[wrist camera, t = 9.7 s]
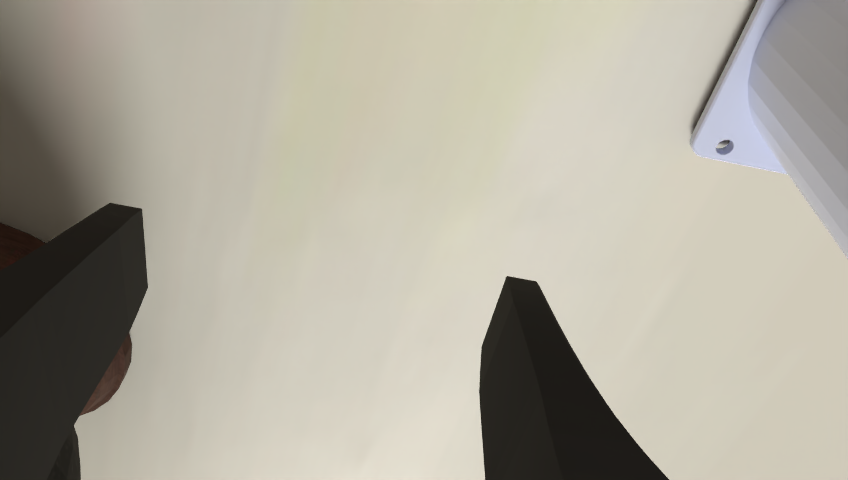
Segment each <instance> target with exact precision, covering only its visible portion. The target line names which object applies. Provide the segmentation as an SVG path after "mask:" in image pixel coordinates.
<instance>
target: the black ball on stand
mask: <svg viewBox="0 0 848 480" xmlns="http://www.w3.org/2000/svg"><path fill="white" fill-rule="evenodd" d="M44 244H46V243H44V242H42V241H41V240H39V239H37V238H35V237H33V236H31V235H29V234H27V233H24V232H22V231H19V230H17V229H14V228H12V227H9V226H7V225H4V224H2V223H0V270H2V269H4V268H6V267H7V266H9V265H11V264H13V263H15V262H16V261H18V260H20V259H21V258H23V257H25V256H26V255H28V254H30V253H31V252H33V251H34V250H36V249H38V248H39V247H41V246H43V245H44ZM131 351H132V343H131V339H130V335H129V333H128V335H127V337H126V338H125V340H124V342H123V343H122V345H121V347H120V349H119V350H118V352H117V354H116V355H115V357H114V359H113V360H112V362H111V364H110V366H109V367H108V369H107V371H106V372H105V374H104V376H103V377H102V379H101V381H100V382H99V384H98V386H97V387H96V389H95V391H94V392H93V394H92V396H91V397H90V399H89V401H88V402H87V404H86V406H85V407H84V409H83V411H82V412H81V414H80V415H83V414H86V413H89V412H91V411H94V410H96V409H97V408H99V407H100V406H102V405H103V404H105V403H106V402H108V401H109V400H110V398H111V397H112V396H113V395H114V394H115V392H116V391H117V390H118V389H119V387H120V385H121V383H122V381H123V379H124V377H125V375H126V373H127V370H128V368H129V365H130V363H131ZM47 480H81V474H80V458H79V447H78V437H77V434H76V431H75V428H74V426H73V427H72V429H71V431H70V433H69V435H68V437H67V439H66V440H65V442H64V444H63V446H62V448H61V450H60V452H59V454H58V457H57V459H56V461H55V463H54V465H53V467H52V470H51V472H50V474H49V476H48V478H47Z"/></svg>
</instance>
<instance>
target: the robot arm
mask: <svg viewBox="0 0 848 480" xmlns="http://www.w3.org/2000/svg"><path fill="white" fill-rule="evenodd" d="M723 140H730V141H729V143H728V145H727V146H725V147H723V148H716V146H717V145H718V144H719V142H721V141H723ZM690 145H691V147H692V149H693V151H694V152H695V153H696V155H698V156H700V157H704V158H709V159H714V160H719V161H724V162H729V163H733V164H738V165H743V166H748V167H753V168H758V169H763V170H768V171H773V172H778V173H783V174H788V175H789V177H790V178H791V179H792V181H793V182H794V184H795V185H796V187H797V188H798V189H799V191H800V192H801V194H802V195H803V196H804V198H805V199H806V201H807V202H808V204H809V205H810V206H811V208H812V209H813V211H814V212H815V213H816V215H817V216H818V218H819V219H820V220H821V222H822V223H823V225H824V226H825V228H826V229H827V230H828V232H829V233H830V235H831V236H832V237H833V239H834V240H835V242H836V243H837V245H838V246H839V247H840V249H841V250H842V252H843V253H844V254H845V256H846V257H847V259H848V0H758V1H757V3H756V5H755V7H754V9H753V11H752V13H751V15H750V17H749V20H748V22H747V24H746V26H745V28H744V30H743V32H742V34H741V36H740V38H739V40H738V42H737V44H736V46H735V48H734V50H733V52H732V54H731V56H730V58H729V60H728V62H727V64H726V66H725V68H724V70H723V72H722V74H721V76H720V78H719V80H718V82H717V84H716V86H715V88H714V91H713V93H712V95H711V97H710V99H709V101H708V103H707V105H706V107H705V109H704V111H703V113H702V115H701V117H700V119H699V121H698V123H697V125H696V127H695V129H694V131H693V133H692V135H691V138H690ZM147 288H148V283H147V269H146V256H145V243H144V229H143V216H142V209H140V208H135V207H129V206H124V205H118V204H113V203H109V204H107V205H106V206H104V207H102V208H101V209H99V210H98V211H96V212H94V213H93V214H91V215H90V216H88V217H87V218H85V219H83V220H82V221H80V222H79V223H77V224H76V225H74V226H73V227H71V228H69V229H68V230H66V231H65V232H63V233H62V234H60V235H59V236H57V237H55V238H54V239H52V240H51V241H49V242H47V243H46V244H44V245H43V246H41V247H39V248H38V249H36V250H34V251H33V252H31V253H30V254H28V255H26V256H25V257H23V258H21V259H20V260H18V261H16V262H15V263H13V264H11V265H9V266H7V267H6V268H4V269H2V270H0V480H47V478H48V476H49V474H50V472H51V470H52V467H53V465H54V463H55V461H56V459H57V457H58V454H59V452H60V450H61V448H62V446H63V444H64V442H65V440H66V439H67V437H68V435H69V433H70V431H71V429H72V427H73V426H74V424H75V422H76V421H77V419H78V417H79V416H80V414H81V412H82V411H83V409H84V407H85V406H86V404H87V402H88V401H89V399H90V397H91V396H92V394H93V392H94V391H95V389H96V387H97V386H98V384H99V382H100V381H101V379H102V377H103V376H104V374H105V372H106V371H107V369H108V367H109V366H110V364H111V362H112V360H113V359H114V357H115V355H116V354H117V352H118V350H119V349H120V347H121V345H122V343H123V342H124V340H125V338H126V337H127V335H128V333H129V331H130V329H131V327H132V324H133V322H134V320H135V317H136V315H137V313H138V311H139V308H140V306H141V303H142V301H143V298H144V296H145V293H146V291H147ZM479 394H480V410H481V425H482V439H483V453H484V467H485V480H669V479H668V478H667V477H666V476H665V475H664V474H663V473H662V471H661V470H660V469H659V468H658V467H657V466H656V465H655V464H654V463H653V462H652V460H651V459H650V458H649V457H648V456H647V455H646V454H645V452H644V451H643V450H642V449H641V448H640V447H639V445H638V444H637V443H636V442H635V440H634V439H633V438H632V437H631V435H630V434H629V433H628V432H627V430H626V429H625V428H624V426H623V425H622V424H621V423H620V421H619V420H618V419H617V417H616V416H615V415H614V413H613V412H612V411H611V409H610V408H609V406H608V405H607V403H606V402H605V400H604V399H603V397H602V396H601V394H600V393H599V391H598V390H597V388H596V387H595V385H594V384H593V382H592V381H591V379H590V378H589V376H588V374H587V373H586V371H585V370H584V368H583V366H582V364H581V363H580V361H579V359H578V358H577V356H576V354H575V352H574V351H573V349H572V347H571V346H570V344H569V342H568V340H567V338H566V337H565V335H564V333H563V331H562V329H561V327H560V325H559V324H558V322H557V320H556V318H555V316H554V314H553V312H552V310H551V308H550V306H549V304H548V302H547V300H546V298H545V296H544V294H543V292H542V290H541V288H540V286H539V285H538V283H537V282H536V281H531V280H525V279H520V278H514V277H509V276H507V277H506V280H505V282H504V285H503V288H502V291H501V294H500V297H499V299H498V302H497V305H496V308H495V311H494V313H493V316H492V319H491V322H490V325H489V328H488V330H487V333H486V336H485V339H484V342H483V344H482V352H481V368H480V388H479Z"/></svg>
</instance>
